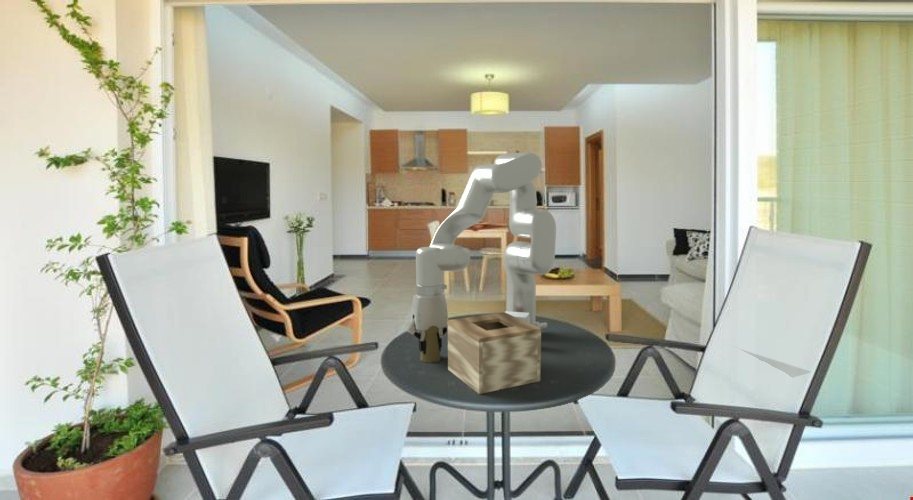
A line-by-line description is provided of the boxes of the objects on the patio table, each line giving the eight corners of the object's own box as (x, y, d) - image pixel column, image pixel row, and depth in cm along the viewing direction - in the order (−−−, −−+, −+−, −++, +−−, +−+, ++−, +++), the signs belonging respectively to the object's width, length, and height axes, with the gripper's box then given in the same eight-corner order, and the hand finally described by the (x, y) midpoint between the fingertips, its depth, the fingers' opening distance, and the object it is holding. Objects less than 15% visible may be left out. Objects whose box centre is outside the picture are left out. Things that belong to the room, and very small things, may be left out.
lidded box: (504, 359, 147) (504, 312, 145) (540, 380, 131) (541, 328, 129) (448, 369, 139) (447, 320, 137) (479, 394, 123) (479, 338, 121)
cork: (438, 363, 144) (437, 325, 143) (417, 361, 145) (416, 324, 144) (442, 355, 150) (442, 319, 149) (423, 354, 151) (422, 318, 150)
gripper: (450, 285, 152) (450, 343, 154) (397, 290, 145) (398, 352, 147) (461, 289, 145) (461, 351, 148) (406, 295, 138) (407, 360, 141)
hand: (430, 351), depth 147 cm, fingers closed on cork, 3 cm apart
